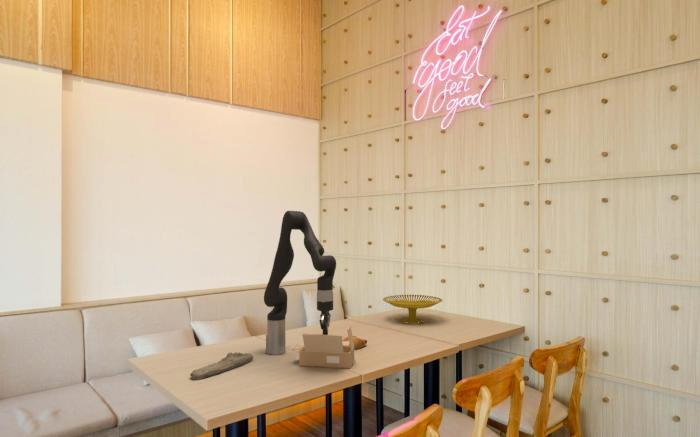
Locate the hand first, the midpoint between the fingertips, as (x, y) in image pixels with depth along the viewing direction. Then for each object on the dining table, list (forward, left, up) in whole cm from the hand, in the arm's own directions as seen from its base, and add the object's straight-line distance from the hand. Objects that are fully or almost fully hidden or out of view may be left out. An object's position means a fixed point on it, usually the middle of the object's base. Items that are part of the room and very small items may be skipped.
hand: (325, 337), depth 206 cm
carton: (-3, +13, -15) cm, 20 cm away
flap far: (+11, +9, -7) cm, 16 cm away
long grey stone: (-47, -6, -15) cm, 49 cm away
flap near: (-1, +3, -7) cm, 8 cm away
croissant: (+5, +36, -15) cm, 40 cm away
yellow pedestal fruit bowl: (+36, +108, -15) cm, 115 cm away
